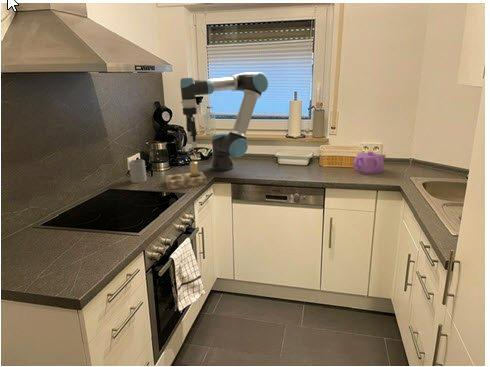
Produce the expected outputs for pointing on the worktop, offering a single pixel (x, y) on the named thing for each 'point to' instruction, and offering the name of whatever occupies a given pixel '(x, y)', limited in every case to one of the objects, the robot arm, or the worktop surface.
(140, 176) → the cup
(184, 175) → the jig
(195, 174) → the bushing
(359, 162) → the teakettle
